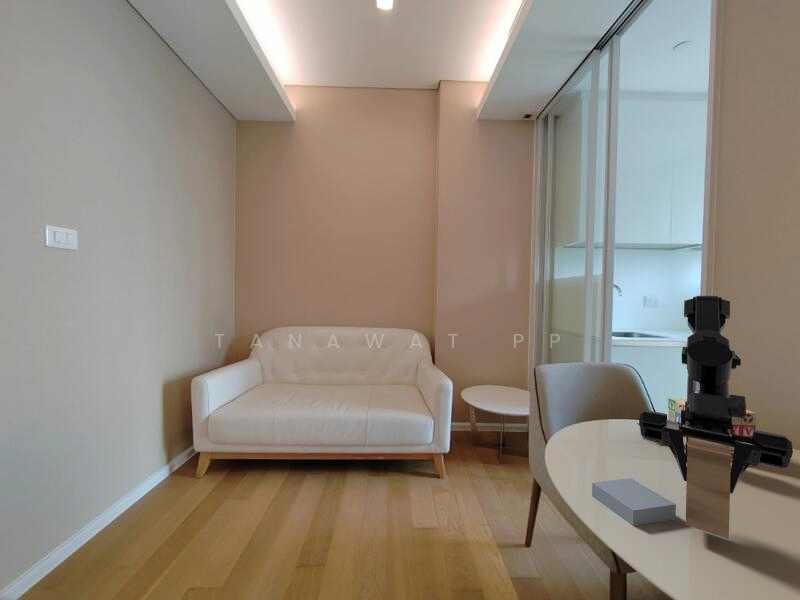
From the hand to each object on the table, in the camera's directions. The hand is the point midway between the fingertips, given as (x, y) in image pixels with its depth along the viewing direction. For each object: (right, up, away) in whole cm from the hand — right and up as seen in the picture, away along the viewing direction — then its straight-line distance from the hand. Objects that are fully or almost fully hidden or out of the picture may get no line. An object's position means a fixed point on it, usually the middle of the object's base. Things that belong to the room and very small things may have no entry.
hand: (707, 486), depth 55 cm
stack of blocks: (+34, -10, +39) cm, 52 cm away
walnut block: (+1, -7, +1) cm, 7 cm away
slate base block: (-6, -9, +9) cm, 14 cm away
